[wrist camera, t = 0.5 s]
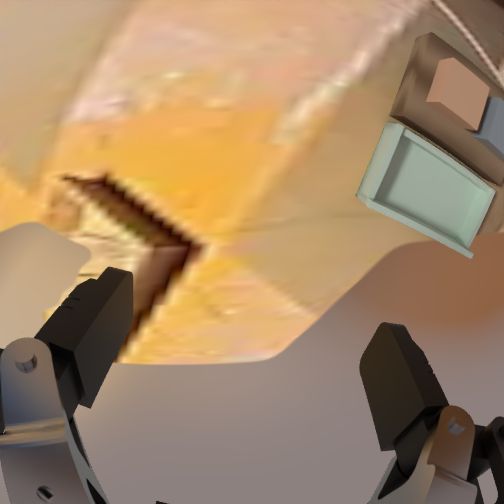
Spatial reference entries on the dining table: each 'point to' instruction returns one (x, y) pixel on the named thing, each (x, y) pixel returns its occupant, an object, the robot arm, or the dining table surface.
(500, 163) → the grey brown flat block
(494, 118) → the slate tile
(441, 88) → the terracotta tile
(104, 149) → the dining table surface
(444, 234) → the tray
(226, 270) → the dining table surface
